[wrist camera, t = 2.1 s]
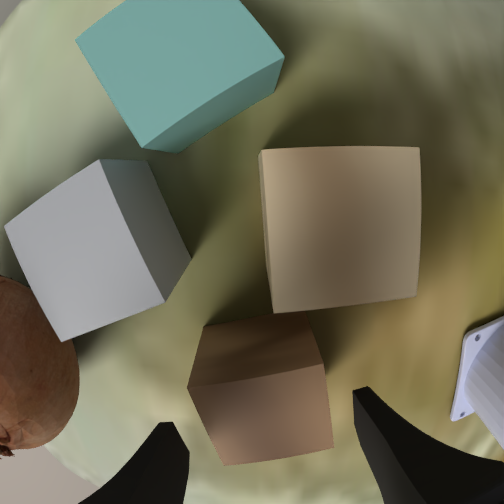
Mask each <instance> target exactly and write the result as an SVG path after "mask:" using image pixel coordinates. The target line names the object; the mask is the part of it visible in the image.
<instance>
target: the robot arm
mask: <svg viewBox="0 0 504 504" xmlns="http://www.w3.org/2000/svg"><path fill="white" fill-rule="evenodd" d="M353 408H354V425H355V428H356V432H357V435H358V438H359V442H360V445H361V447H362V450H363V452H364V454H365V456H366V459H367V461H368V463H369V465H370V468H371V470H372V472H373V474H374V477H375V479H376V481H377V483H378V486H379V488H380V491H381V494H382V497H383V501H384V504H504V463H503V462H502V461H497V460H491V459H487V458H482V457H478V456H475V455H471V454H468V453H465V452H463V451H460V450H458V449H455V448H453V447H450V446H448V445H446V444H444V443H442V442H440V441H438V440H436V439H434V438H432V437H431V436H429V435H427V434H425V433H424V432H422V431H421V430H419V429H418V428H416V427H415V426H413V425H412V424H410V423H409V422H408V421H406V420H405V419H404V418H403V417H401V416H400V415H399V414H398V413H396V412H395V411H394V410H393V409H392V408H390V407H389V406H388V405H387V404H386V403H385V402H384V401H383V400H382V399H381V398H380V397H379V396H378V395H377V394H376V393H375V392H374V391H373V390H372V389H371V388H370V387H368V386H366V387H363V388H360V389H356V390H353ZM473 412H476V413H477V415H478V416H479V417H480V419H481V420H482V421H483V423H484V424H485V425H486V426H487V428H488V429H489V430H490V432H491V433H492V435H493V436H494V437H495V439H496V440H497V441H498V443H499V444H500V445H501V447H502V448H503V450H504V316H502V317H500V318H498V319H496V320H494V321H491V322H489V323H487V324H485V325H483V326H480V327H478V328H476V329H473V330H471V331H469V332H467V334H466V335H465V336H464V339H463V346H462V354H461V361H460V368H459V374H458V380H457V385H456V391H455V396H454V401H453V405H452V410H451V414H450V419H451V420H452V421H457V420H459V419H461V418H463V417H465V416H467V415H469V414H471V413H473ZM189 454H190V452H189V450H188V449H187V447H186V445H185V443H184V442H183V440H182V438H181V436H180V434H179V433H178V431H177V429H176V427H175V425H174V423H173V422H160V423H159V424H158V425H157V426H156V427H155V429H154V430H153V431H152V432H151V434H150V435H149V436H148V438H147V439H146V440H145V441H144V443H143V444H142V445H141V446H140V448H139V449H138V450H137V451H136V453H135V454H134V455H133V456H132V457H131V459H130V460H129V461H128V462H127V463H126V464H125V465H124V466H123V467H122V468H121V470H120V471H119V472H118V473H117V474H116V475H115V476H114V477H113V478H111V479H110V480H109V481H108V482H107V483H106V484H105V485H103V486H102V487H101V488H100V489H99V490H97V491H96V492H94V493H93V494H92V495H90V496H89V497H87V498H86V499H85V500H83V501H81V502H80V503H78V504H183V501H184V496H185V491H186V485H187V480H188V474H189Z"/></svg>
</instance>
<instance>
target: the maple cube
mask: <svg viewBox="0 0 504 504" xmlns="http://www.w3.org/2000/svg"><path fill="white" fill-rule="evenodd" d="M258 166H259V178H260V191H261V203H262V216H263V229H264V242H265V255H266V268H267V274H268V280H269V287H270V293H271V299H272V306H273V312H274V313H284V312H295V311H305V310H315V309H324V308H333V307H342V306H350V305H358V304H366V303H374V302H381V301H388V300H396V299H402V298H409V297H416V295H417V285H418V273H419V259H420V240H421V168H420V150H419V147H394V146H327V147H299V148H280V149H265V150H261V152H260V153H259V155H258Z"/></svg>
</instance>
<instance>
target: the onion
mask: <svg viewBox="0 0 504 504" xmlns="http://www.w3.org/2000/svg"><path fill="white" fill-rule="evenodd" d="M10 278H11V277H10ZM78 395H79V365H78V360H77V355H76V351H75V348H74V345H73V342H72V339H68V340H65V341H63V342H61V341H60V339H59V337H58V336H57V334H56V332H55V331H54V329H53V327H52V326H51V324H50V322H49V320H48V319H47V317H46V315H45V313H44V311H43V310H42V308H41V306H40V304H39V302H38V300H37V298H36V296H35V295H34V293H33V291H32V290H31V289H29V288H28V287H26V286H24V285H23V284H21V283H19V282H17V281H15V280H13V279H12V278H11V279H9V278H7V276H6V277H4V276H2V275H0V455H3V456H13V455H14V454H13V453H12V452H11V450H15V449H30V448H36V447H39V446H42V445H44V444H46V443H48V442H50V441H51V440H52V439H54V438H55V437H56V436H57V435H59V433H60V432H61V431H62V430H63V429H64V427H65V426H66V424H67V423H68V421H69V419H70V418H71V416H72V414H73V412H74V409H75V407H76V404H77V400H78ZM0 459H1V458H0Z"/></svg>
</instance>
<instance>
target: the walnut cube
mask: <svg viewBox="0 0 504 504" xmlns="http://www.w3.org/2000/svg"><path fill="white" fill-rule="evenodd" d="M187 389H188V391H189V394H190V396H191V398H192V400H193V403H194V405H195V407H196V409H197V412H198V414H199V416H200V418H201V420H202V422H203V424H204V427H205V429H206V431H207V433H208V435H209V437H210V439H211V441H212V443H213V445H214V447H215V449H216V451H217V453H218V455H219V457H220V459H221V461H222V463H223V465H224V466H226V465H236V464H246V463H254V462H261V461H268V460H275V459H281V458H287V457H292V456H298V455H303V454H308V453H312V452H317V451H321V450H326V449H330V448H334V442H333V433H332V424H331V416H330V408H329V400H328V392H327V384H326V377H325V370H324V363H323V360H322V357H321V354H320V352H319V349H318V346H317V343H316V340H315V337H314V335H313V332H312V329H311V326H310V323H309V321H308V318H307V315H306V312H305V311H295V312H284V313H271V314H266V315H261V316H256V317H251V318H246V319H241V320H236V321H231V322H226V323H221V324H215V325H210V326H204V327H203V331H202V335H201V338H200V342H199V345H198V349H197V353H196V356H195V360H194V364H193V367H192V371H191V375H190V378H189V382H188V386H187Z"/></svg>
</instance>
